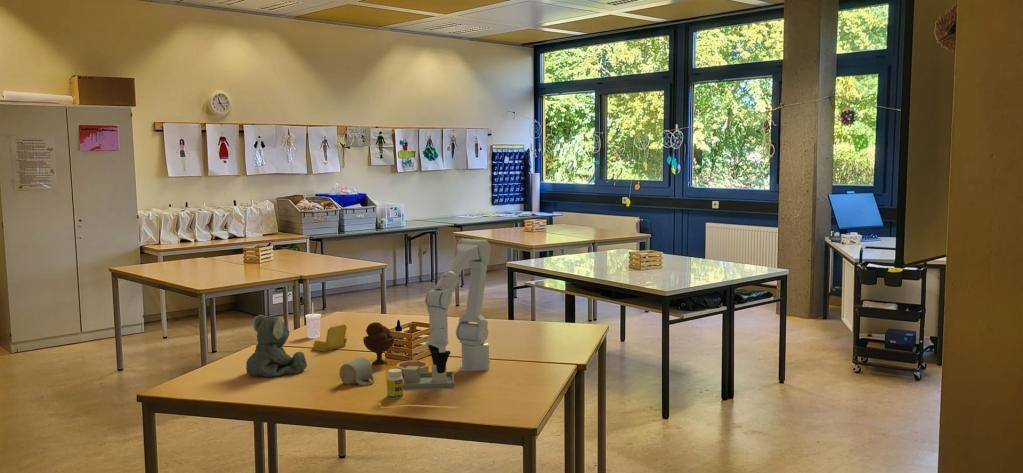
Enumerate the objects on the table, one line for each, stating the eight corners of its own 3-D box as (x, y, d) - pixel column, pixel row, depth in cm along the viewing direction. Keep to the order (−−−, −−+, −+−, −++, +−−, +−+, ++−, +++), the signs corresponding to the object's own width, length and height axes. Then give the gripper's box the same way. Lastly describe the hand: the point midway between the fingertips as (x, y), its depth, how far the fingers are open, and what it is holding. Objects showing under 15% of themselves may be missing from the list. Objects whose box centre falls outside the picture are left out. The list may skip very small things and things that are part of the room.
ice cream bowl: (389, 369, 266) (388, 325, 265) (358, 367, 268) (357, 324, 267) (400, 361, 276) (399, 319, 275) (370, 359, 279) (369, 318, 277)
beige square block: (420, 381, 249) (420, 366, 249) (416, 385, 245) (416, 369, 245) (408, 381, 250) (407, 365, 249) (404, 384, 246) (403, 369, 245)
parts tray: (453, 375, 258) (453, 369, 258) (454, 390, 241) (454, 384, 241) (401, 376, 257) (401, 371, 257) (397, 392, 240) (397, 386, 240)
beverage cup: (303, 338, 312) (302, 303, 311) (309, 335, 318) (308, 301, 317) (317, 339, 311) (316, 304, 310) (324, 335, 317) (323, 301, 316)
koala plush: (310, 371, 264) (308, 314, 262) (261, 382, 251) (259, 322, 249) (283, 362, 276) (281, 307, 274) (235, 372, 263) (232, 315, 261)
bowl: (429, 368, 266) (428, 360, 266) (428, 377, 256) (428, 368, 255) (397, 369, 265) (397, 361, 265) (395, 378, 255) (395, 369, 254)
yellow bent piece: (332, 343, 304) (332, 320, 303) (349, 347, 298) (348, 323, 298) (311, 349, 296) (310, 325, 295) (328, 352, 290) (327, 328, 289)
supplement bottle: (396, 401, 231) (395, 373, 230) (383, 398, 234) (383, 371, 233) (406, 396, 235) (406, 369, 234) (394, 394, 238) (393, 367, 237)
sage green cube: (444, 379, 252) (444, 364, 251) (446, 382, 248) (446, 367, 247) (432, 380, 251) (431, 365, 250) (434, 383, 247) (433, 368, 246)
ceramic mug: (337, 384, 249) (337, 360, 248) (355, 378, 256) (355, 355, 255) (363, 389, 243) (362, 365, 242) (380, 383, 250) (380, 359, 249)
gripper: (422, 323, 253) (423, 364, 255) (429, 333, 239) (430, 376, 241) (444, 322, 255) (444, 363, 257) (452, 331, 241) (452, 374, 243)
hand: (439, 369), depth 249 cm, fingers open, 7 cm apart
